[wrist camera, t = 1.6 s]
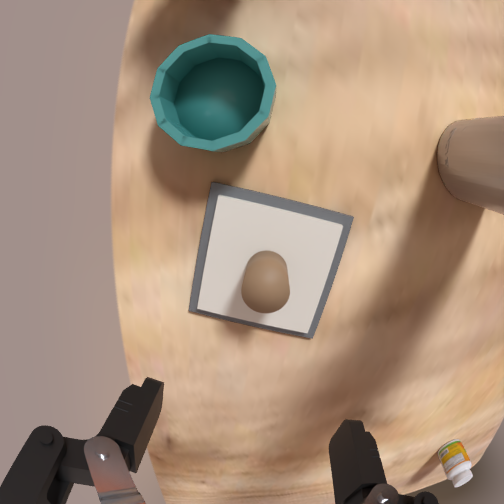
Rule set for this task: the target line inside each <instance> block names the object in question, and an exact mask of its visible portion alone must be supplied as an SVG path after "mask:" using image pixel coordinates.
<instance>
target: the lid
mask: <svg viewBox="0 0 504 504" xmlns="http://www.w3.org/2000/svg"><path fill="white" fill-rule="evenodd" d="M342 229H343V226H342V225H341V224H338V223H334V222H330V221H327V220H323V219H319V218H315V217H311V216H307V215H303V214H299V213H295V212H291V211H287V210H283V209H279V208H275V207H271V206H267V205H263V204H258V203H254V202H250V201H246V200H241V199H237V198H232V197H228V196H223V195H219V196H218V199H217V204H216V209H215V214H214V219H213V224H212V229H211V234H210V240H209V245H208V250H207V255H206V261H205V266H204V272H203V277H202V283H201V289H200V295H199V301H198V307H197V309H200V310H204V311H208V312H212V313H216V314H220V315H225V316H229V317H233V318H237V319H242V320H246V321H250V322H255V323H259V324H264V325H268V326H273V327H278V328H283V329H288V330H293V331H298V332H303V333H308V331H309V328H310V325H311V323H312V320H313V317H314V314H315V312H316V309H317V306H318V303H319V300H320V297H321V294H322V292H323V289H324V286H325V283H326V280H327V277H328V274H329V271H330V268H331V264H332V261H333V258H334V255H335V252H336V249H337V245H338V242H339V239H340V236H341V232H342Z"/></svg>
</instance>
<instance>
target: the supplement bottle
mask: <svg viewBox="0 0 504 504" xmlns="http://www.w3.org/2000/svg"><path fill="white" fill-rule="evenodd" d="M438 457H439V459H440V462H441V464H442V467H443V469H444V472H445V474H446V476H447V478H448V479H449V480H453V484H454V487H458V486H461V485H463V484H465V483H466V482H468V481H469V480H470V479H471V478H472V477H473V475H472V472H471V471H470V470H469V469H470V468H471V461H470V459H469V457H468V455H467V453H466V451H465V449H464V447H463V445H462V443H461V441H460V440H459V439H455V440H452V441H450V442H448V443H446V444H445V445H444V446H442V447H441V448H440V449H439V451H438Z"/></svg>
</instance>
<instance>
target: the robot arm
mask: <svg viewBox="0 0 504 504" xmlns="http://www.w3.org/2000/svg"><path fill="white" fill-rule="evenodd" d="M437 160H438V168H439V173H440V175H441V178H442V181H443V183H444V184H445V186H446V188H447V189H448V190H449V192H450V193H451V194H452V195H453V196H455V197H456V198H457V199H460V200H462V201H465V202H468V203H471V204H474V205H477V206H480V207H483V208H486V209H489V210H492V211H495V212H498V213H501V214H503V215H504V116H497V117H485V118H475V119H466V120H459V121H456V122H453V123H452V124H450V125H449V126H448V127H447V128H446V129H445V130H444V132H443V134H442V136H441V138H440V141H439V145H438V152H437ZM163 389H164V382H161V381H158V380H155V379H152V378H149V377H147V378H146V379H145V381H144V383H143V385H142V386H141V387H139V386H136V385H134V384H132V385H131V386H129V387H128V388H126V389H125V390H123V392H122V394H121V396H120V397H119V399H118V401H117V402H116V404H115V406H114V408H113V409H112V411H111V413H110V415H109V416H108V418H107V420H106V422H105V424H104V425H103V427H102V429H101V431H100V432H99V433H98V434H97V435H96V436H95V437H92V438H90V439H88V440H78V439H72V438H67V437H63V436H62V435H61V433H60V432H59V431H58V430H57V429H55V428H54V427H51V426H39V427H37V428H36V429H34V430H33V431H32V433H31V434H30V436H29V438H28V439H27V441H26V443H25V445H24V446H23V448H22V450H21V451H20V453H19V454H18V456H17V458H16V460H15V461H14V463H13V465H12V466H11V468H10V470H9V472H8V474H7V475H6V477H5V479H4V481H3V483H2V485H1V487H0V504H66V501H67V499H68V496H69V494H70V492H71V489H72V487H73V484H74V483H77V484H83V485H89V486H95V487H96V490H97V493H98V496H99V499H100V502H101V504H146V503H145V501H144V499H143V498H142V495H141V494H140V493H139V492H138V490H137V488H136V486H135V484H134V482H133V480H132V478H131V475H130V473H129V471H132V472H134V473H137V470H138V467H139V465H140V463H141V460H142V457H143V455H144V453H145V450H146V448H147V445H148V443H149V440H150V438H151V435H152V433H153V430H154V428H155V425H156V423H157V420H158V418H159V415H160V412H161V408H162V400H163ZM377 450H378V448H377V444H376V441H375V439H374V438H373V436H372V435H371V434H370V432H365V429H364V425H363V422H362V421H360V420H347V419H346V420H344V421H343V422H342V424H341V425H340V427H339V428H338V430H337V431H336V433H335V434H334V435H333V437H332V438H331V440H330V443H329V456H330V463H331V471H332V479H333V487H334V495H335V504H438V500H437V498H436V497H435V496H434V495H433V494H432V493H429V492H421V493H419V494H418V495H417V496H415V497H411V496H406V495H401V494H398V492H397V490H396V489H395V488H394V487H393V486H391V485H389V484H387V481H386V478H385V474H384V470H383V466H382V462H381V459H380V458H379V456H380V455H379V451H377Z"/></svg>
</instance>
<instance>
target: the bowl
mask: <svg viewBox="0 0 504 504" xmlns="http://www.w3.org/2000/svg"><path fill="white" fill-rule="evenodd" d="M275 97H276V83H275V80H274V78H273V75H272V72H271V69H270V67H269V64H268V61H267V58H266V56H264V55H263V54H262V53H261V52H259V51H258V50H257V49H255V48H254V47H253V46H251V45H250V44H249V43H247V42H246V41H244V40H243V39H242V38H237V37H230V36H221V35H212V34H209V35H206V36H203V37H200V38H197V39H195V40H192V41H189V42H187V43H184V44H182V45H179V46H178V47H177V48H176V49H175V50H174V51H173V52H172V53H171V54H170V55H169V56H168V58H167V59H166V60H165V61H164V62H163V63H162V64H161V65H160V66H159V67H158V68H157V72H156V76H155V79H154V83H153V87H152V91H151V95H150V100H151V104H152V107H153V110H154V114H155V117H156V120H157V124H158V126H159V127H160V128H161V129H163V130H164V131H165V132H166V133H167V134H168V135H169V136H171V137H172V138H173V139H174V140H175V141H176V142H178V143H179V144H180V145H181V146H187V147H193V148H199V149H204V150H210V151H216V152H225V151H228V150H231V149H234V148H237V147H241V146H244V145H247V144H250V143H251V142H252V141H253V140H254V139H255V138H256V136H257V135H258V134H259V133H260V132H261V131H262V130H263V129H264V128H265V127H266V126H267V125H268V124H269V122H270V118H271V114H272V109H273V105H274V101H275Z"/></svg>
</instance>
